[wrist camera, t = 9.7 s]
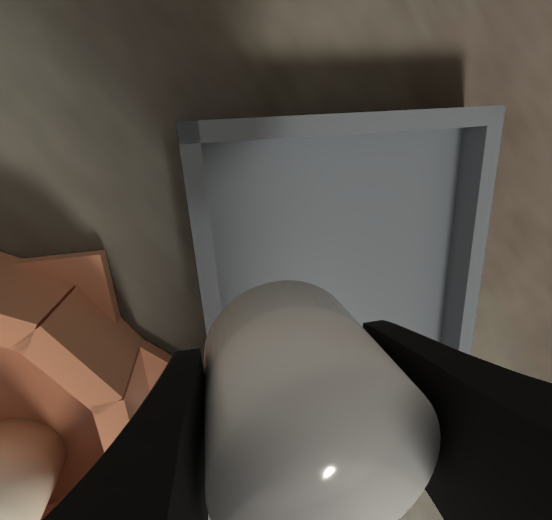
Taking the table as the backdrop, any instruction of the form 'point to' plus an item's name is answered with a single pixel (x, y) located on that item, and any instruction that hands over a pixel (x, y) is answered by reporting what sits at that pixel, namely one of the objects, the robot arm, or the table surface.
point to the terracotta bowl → (70, 356)
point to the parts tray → (348, 210)
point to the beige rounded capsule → (28, 467)
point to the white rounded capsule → (309, 414)
